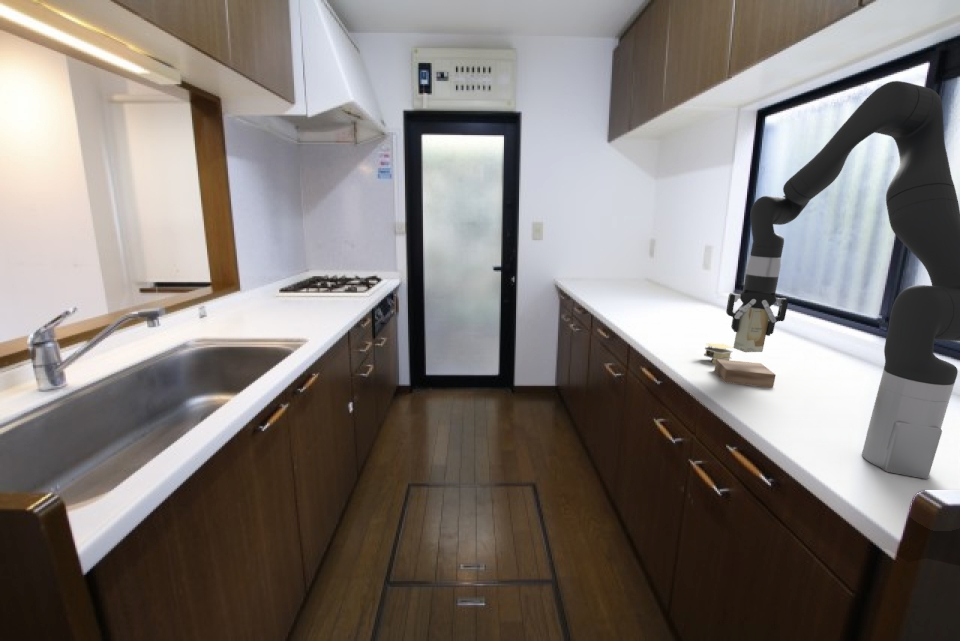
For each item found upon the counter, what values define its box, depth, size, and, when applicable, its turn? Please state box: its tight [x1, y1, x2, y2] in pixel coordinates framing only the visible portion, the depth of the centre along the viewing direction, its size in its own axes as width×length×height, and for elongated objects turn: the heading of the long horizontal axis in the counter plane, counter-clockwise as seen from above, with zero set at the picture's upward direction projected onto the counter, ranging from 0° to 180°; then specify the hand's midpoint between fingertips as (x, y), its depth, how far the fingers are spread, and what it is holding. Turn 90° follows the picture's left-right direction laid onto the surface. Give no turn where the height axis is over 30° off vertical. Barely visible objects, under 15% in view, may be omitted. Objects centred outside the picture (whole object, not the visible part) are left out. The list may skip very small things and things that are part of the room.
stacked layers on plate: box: [703, 342, 734, 365], centre depth 142 cm, size 10×9×6 cm
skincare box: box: [732, 305, 769, 353], centre depth 124 cm, size 6×4×12 cm
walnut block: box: [714, 359, 776, 388], centre depth 127 cm, size 10×12×4 cm
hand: (751, 333), depth 125 cm, fingers closed on skincare box, 7 cm apart
